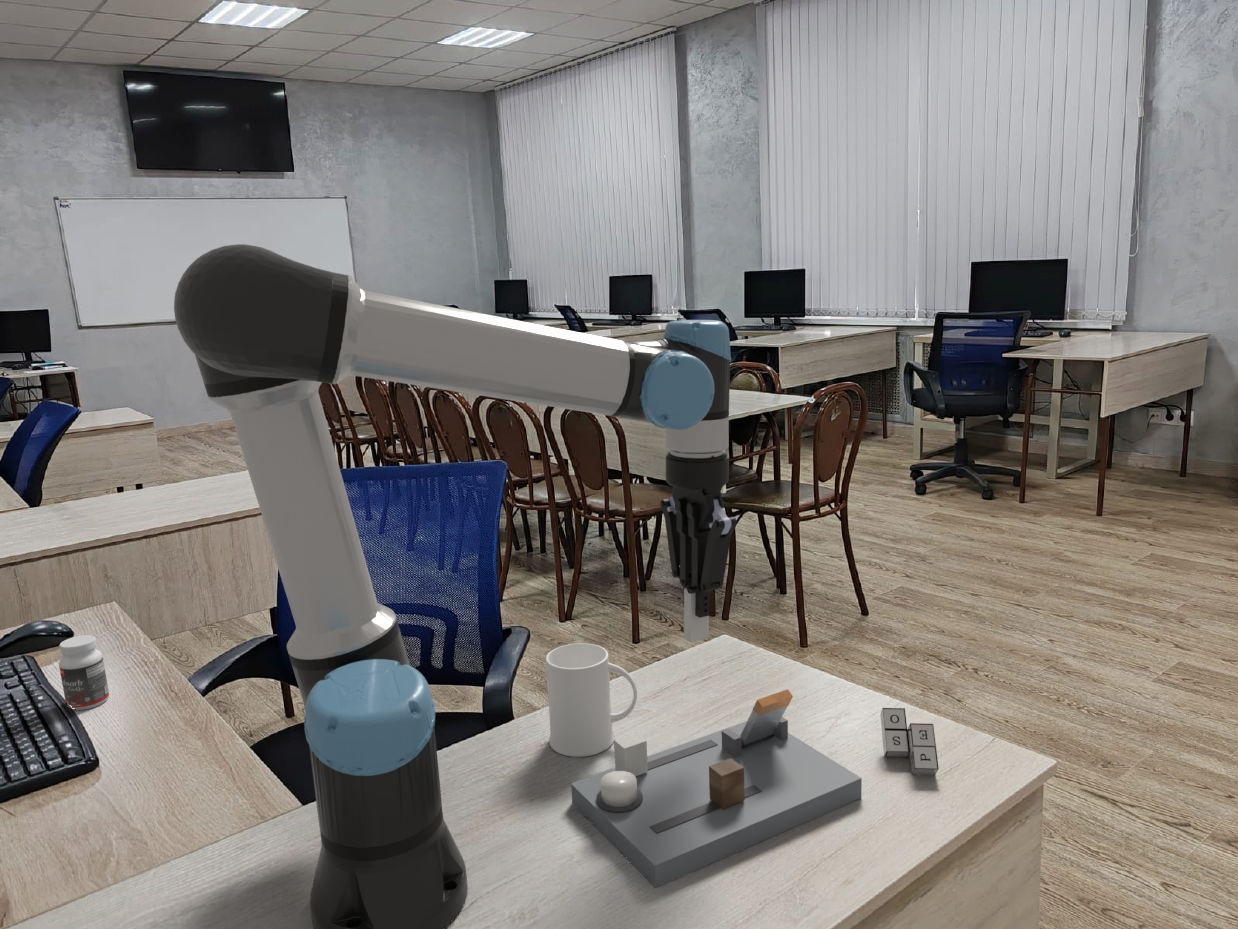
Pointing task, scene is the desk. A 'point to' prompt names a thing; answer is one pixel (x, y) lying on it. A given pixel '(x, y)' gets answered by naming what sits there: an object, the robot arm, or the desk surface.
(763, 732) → the lever
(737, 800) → the slider
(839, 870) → the desk surface
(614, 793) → the button
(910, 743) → the building blocks
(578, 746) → the mug
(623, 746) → the slider
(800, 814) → the panel
